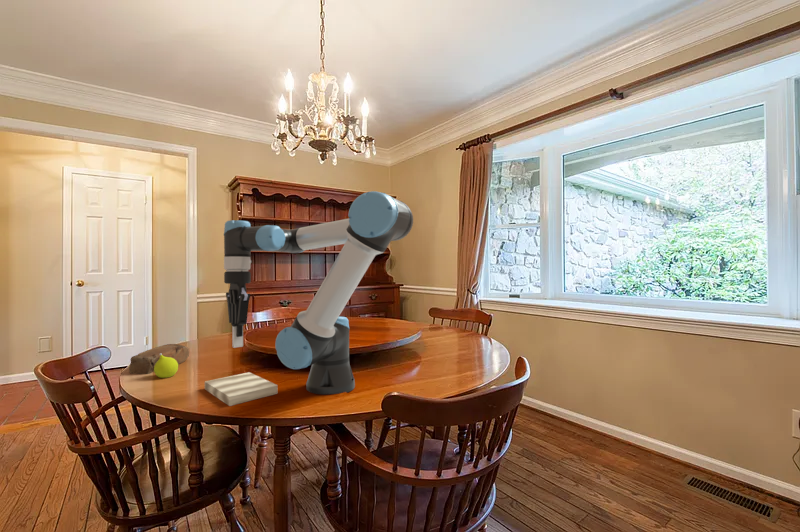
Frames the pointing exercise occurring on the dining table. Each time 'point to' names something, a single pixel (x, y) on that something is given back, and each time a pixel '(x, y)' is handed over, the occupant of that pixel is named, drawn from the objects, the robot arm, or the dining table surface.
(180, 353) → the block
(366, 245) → the robot arm
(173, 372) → the ornament
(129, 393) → the dining table surface
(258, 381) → the board
